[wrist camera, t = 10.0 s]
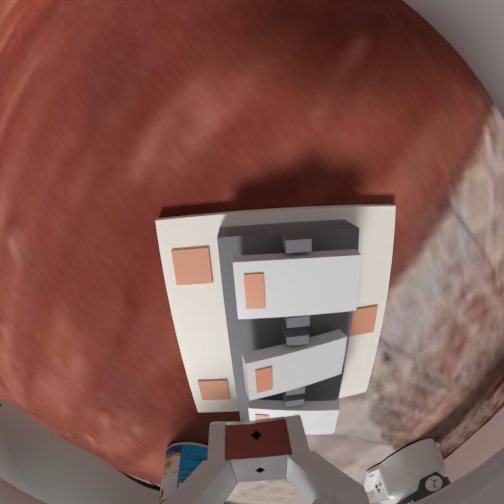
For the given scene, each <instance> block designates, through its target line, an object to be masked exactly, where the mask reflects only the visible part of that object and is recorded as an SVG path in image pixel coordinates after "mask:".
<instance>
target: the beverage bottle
mask: <svg viewBox="0 0 504 504" xmlns="http://www.w3.org/2000/svg"><path fill="white" fill-rule="evenodd" d="M207 459H208V445H205V444H201V443H196V442H179V443H175V444H172V445H171V446H169V447H168V449H167V452H166V460H165V466H164V472H163V478H162V484H161V490H160V497H159V501H158V503H157V504H162V503H163V502H164V501H165V500H166V499H167V498H168V497H169V496H170V495H171V494H172V493H173V492H174V491H175V490H176V489H177V488H178V487H179V486H180V485H181V484H182V483H183V482H184V481H185V480H186V479H187V478H188V477H189V476H190V474H191V473H192V472H193V471H194V470H195V469H196V468H197V467H198V466H199V465H200V463H201V462H202V461H207Z"/></svg>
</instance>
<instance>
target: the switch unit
mask: <svg viewBox="0 0 504 504" xmlns="http://www.w3.org/2000/svg"><path fill="white" fill-rule="evenodd" d="M395 210H396V206H394V205H391V204H365V205H332V206H308V207H289V208H272V209H256V210H242V211H229V212H217V213H205V214H194V215H184V216H174V217H164V218H158V219H157V220H155V222H156V229H157V236H158V242H159V249H160V255H161V261H162V267H163V272H164V278H165V283H166V288H167V293H168V298H169V303H170V308H171V313H172V317H173V322H174V326H175V330H176V335H177V339H178V343H179V347H180V351H181V355H182V359H183V363H184V366H185V370H186V374H187V377H188V381H189V384H190V388H191V391H192V395H193V398H194V401H195V405H196V408H197V411H198V412H232V411H239V414H240V420H241V421H250V420H249V412H248V406H249V402H250V400H249V398H248V395H247V393H246V388H245V380H244V371H243V362H242V353H246V352H251V351H256V350H260V349H265V348H269V347H274V346H278V345H282V344H286V345H287V346H295V345H303V344H309V337H313V336H317V335H320V334H324V333H327V332H331V331H334V330H338V329H340V330H341V331H342V332H343V333H344V334H345V335H346V336H347V342H346V349H345V355H344V361H343V367H342V373H341V374H339V375H337V376H334V377H331V378H328V379H325V380H322V381H319V382H316V383H313V384H310V385H306V386H303V387H300V388H296V389H293V390H290V391H286V392H282V393H279V394H275V395H271V396H267V397H263V398H259V399H261V400H280V401H285V406H286V407H292V406H299V405H304V401H336V400H338V398H341V397H346V396H351V395H355V394H359V393H363V392H366V390H367V386H368V383H369V379H370V375H371V371H372V367H373V363H374V359H375V355H376V351H377V346H378V342H379V337H380V332H381V327H382V322H383V317H384V311H385V305H386V299H387V293H388V286H389V278H390V270H391V262H392V252H393V241H394V228H395ZM347 249H356V250H357V251H358V252H359V253H360V254H361V268H360V280H359V290H358V299H357V308H356V311H347V312H337V313H327V314H316V315H304V316H290V317H275V318H256V319H238V314H237V303H236V293H235V282H234V272H233V258H234V256H239V255H258V254H276V253H297V252H312V251H330V250H347Z"/></svg>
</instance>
